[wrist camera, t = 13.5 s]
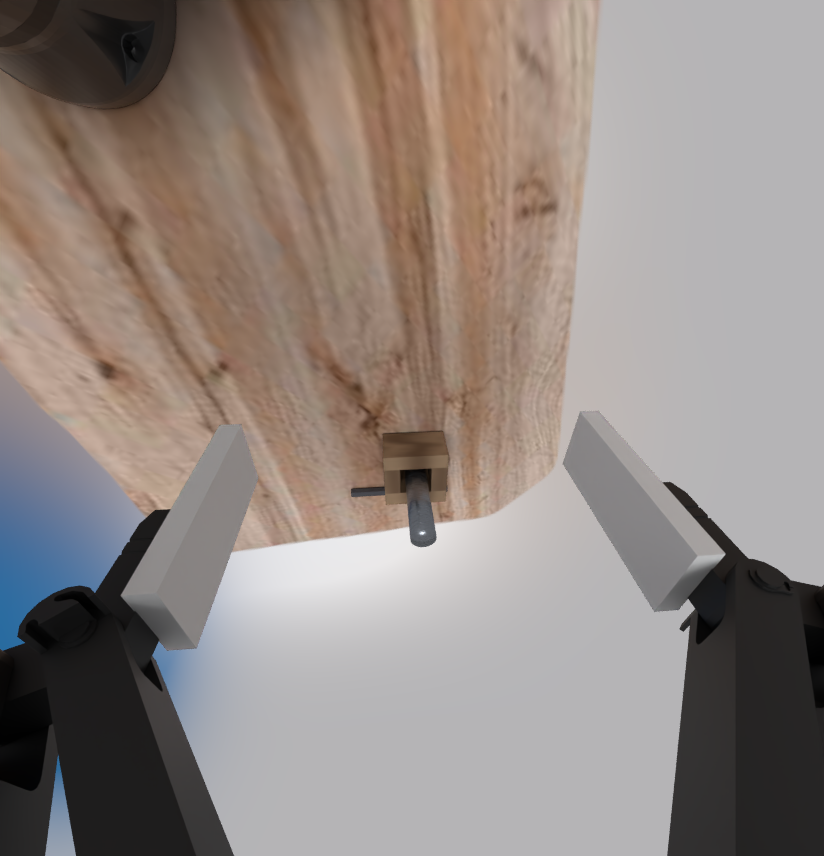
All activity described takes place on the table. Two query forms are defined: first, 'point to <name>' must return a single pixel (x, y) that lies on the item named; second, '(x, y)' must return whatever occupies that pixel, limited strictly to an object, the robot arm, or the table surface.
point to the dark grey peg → (419, 508)
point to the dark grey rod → (369, 492)
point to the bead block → (414, 463)
